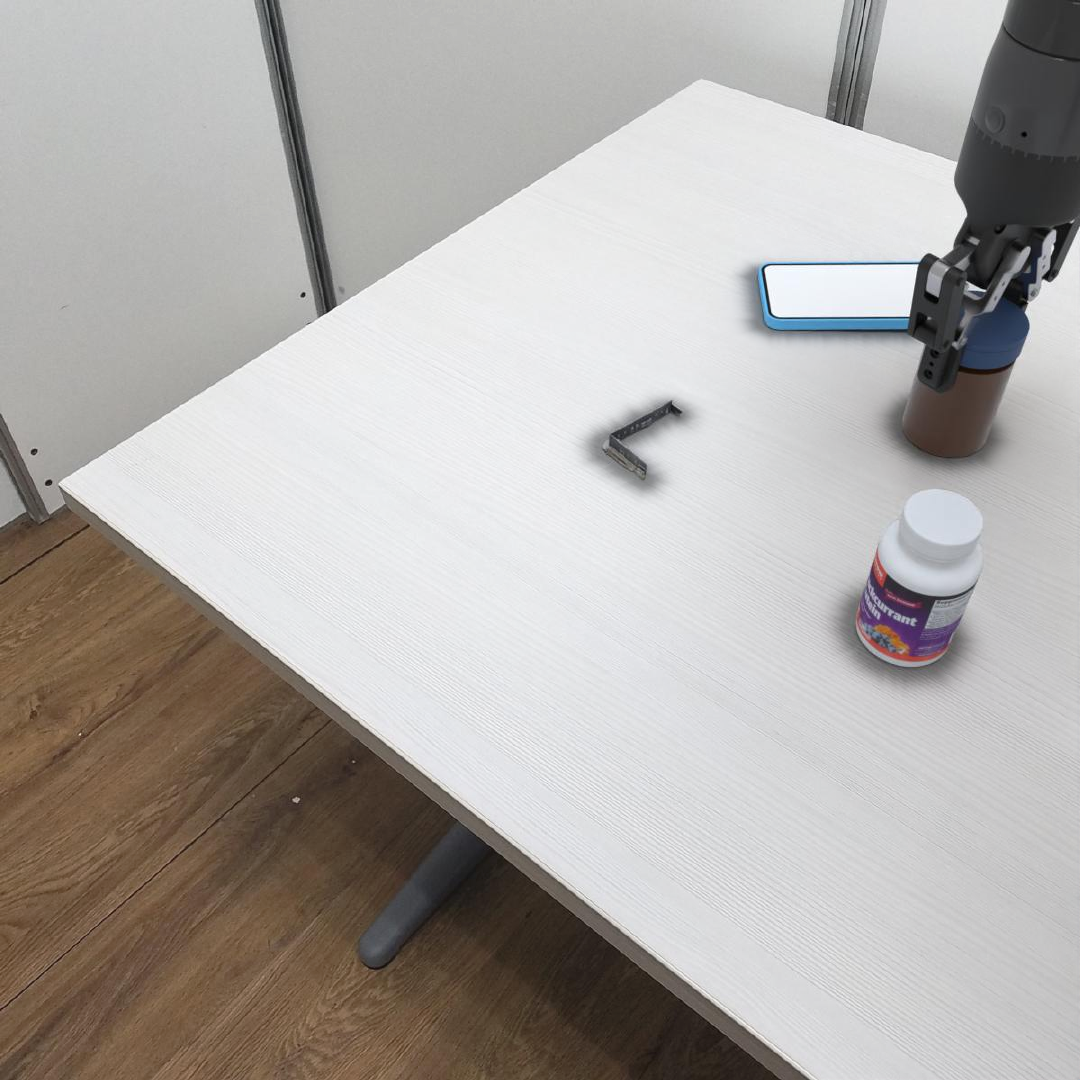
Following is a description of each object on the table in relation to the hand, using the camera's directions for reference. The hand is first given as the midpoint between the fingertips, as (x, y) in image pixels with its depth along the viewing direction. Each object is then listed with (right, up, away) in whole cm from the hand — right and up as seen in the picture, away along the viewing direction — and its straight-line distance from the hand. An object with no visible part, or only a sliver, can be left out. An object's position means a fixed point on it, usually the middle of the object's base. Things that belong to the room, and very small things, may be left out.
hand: (964, 363), depth 74 cm
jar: (0, -4, +4) cm, 6 cm away
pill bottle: (-6, -17, -7) cm, 19 cm away
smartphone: (-3, +7, +14) cm, 16 cm away
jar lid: (0, +2, -2) cm, 3 cm away
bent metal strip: (-20, -5, +4) cm, 21 cm away
